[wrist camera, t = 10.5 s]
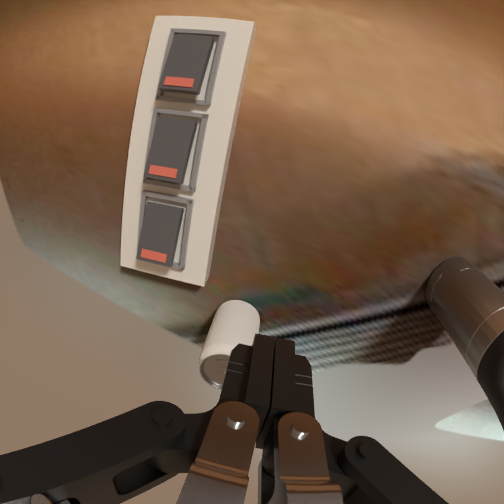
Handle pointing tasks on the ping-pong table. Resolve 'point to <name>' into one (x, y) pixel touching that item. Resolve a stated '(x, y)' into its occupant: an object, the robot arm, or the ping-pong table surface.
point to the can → (227, 338)
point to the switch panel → (203, 149)
